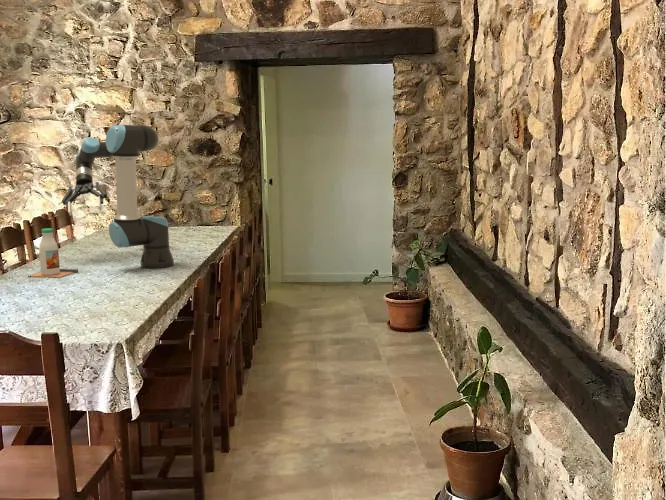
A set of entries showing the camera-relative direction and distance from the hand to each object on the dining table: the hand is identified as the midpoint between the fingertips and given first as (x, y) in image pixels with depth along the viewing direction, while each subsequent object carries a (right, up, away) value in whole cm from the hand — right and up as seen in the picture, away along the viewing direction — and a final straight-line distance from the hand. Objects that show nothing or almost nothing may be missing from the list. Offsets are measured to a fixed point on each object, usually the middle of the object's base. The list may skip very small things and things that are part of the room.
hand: (84, 211), depth 316 cm
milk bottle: (-9, -29, -16) cm, 34 cm away
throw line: (-8, -28, -9) cm, 31 cm away
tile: (-9, -29, -16) cm, 34 cm away
